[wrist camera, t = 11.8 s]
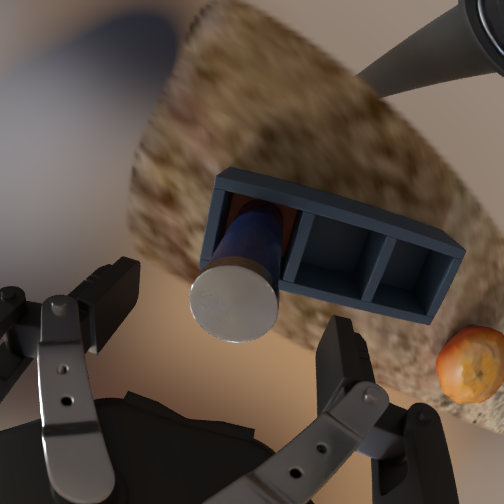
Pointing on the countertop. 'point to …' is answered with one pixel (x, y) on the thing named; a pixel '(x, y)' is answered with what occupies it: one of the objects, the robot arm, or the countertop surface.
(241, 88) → the countertop surface
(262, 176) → the rack
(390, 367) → the countertop surface
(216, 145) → the countertop surface
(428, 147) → the countertop surface
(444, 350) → the fruit
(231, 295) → the thermos
